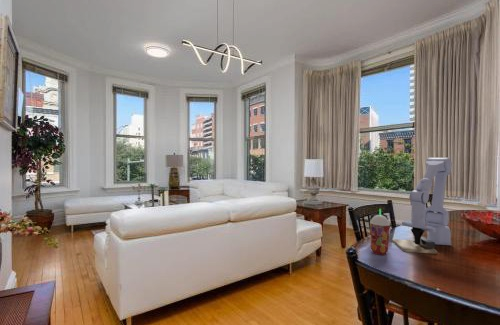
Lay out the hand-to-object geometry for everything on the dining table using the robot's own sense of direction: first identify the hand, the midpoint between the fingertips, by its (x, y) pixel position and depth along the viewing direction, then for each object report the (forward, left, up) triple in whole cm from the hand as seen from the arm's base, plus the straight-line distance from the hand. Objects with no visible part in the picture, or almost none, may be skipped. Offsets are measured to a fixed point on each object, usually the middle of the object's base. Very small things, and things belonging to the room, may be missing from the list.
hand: (417, 243), depth 129 cm
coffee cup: (+17, -1, -2) cm, 18 cm away
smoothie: (+20, +11, -2) cm, 24 cm away
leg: (-3, -1, -1) cm, 3 cm away
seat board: (+1, -2, -2) cm, 3 cm away
